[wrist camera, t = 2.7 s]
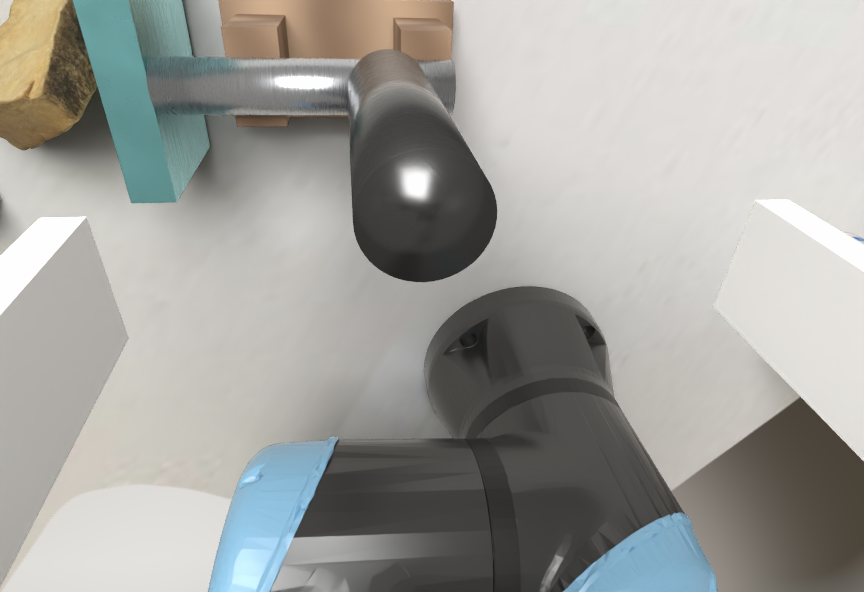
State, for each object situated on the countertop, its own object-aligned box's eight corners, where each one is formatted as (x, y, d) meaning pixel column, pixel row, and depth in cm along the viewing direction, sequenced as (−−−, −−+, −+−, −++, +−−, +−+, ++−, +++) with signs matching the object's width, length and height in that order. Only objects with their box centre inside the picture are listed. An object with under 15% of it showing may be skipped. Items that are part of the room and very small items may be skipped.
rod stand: (447, -2, 30) (470, 12, 25) (442, 107, 34) (461, 140, 28) (224, -9, 29) (198, 5, 24) (242, 107, 32) (222, 142, 27)
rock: (17, 196, 31) (171, 162, 30) (-153, 157, 23) (49, 109, 22) (-8, 21, 32) (143, -19, 30) (-184, -78, 23) (13, -137, 22)
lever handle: (433, -44, 28) (578, -5, 11) (427, 144, 34) (518, 366, 17) (127, -56, 26) (-273, -31, 9) (174, 147, 32) (-22, 401, 15)
